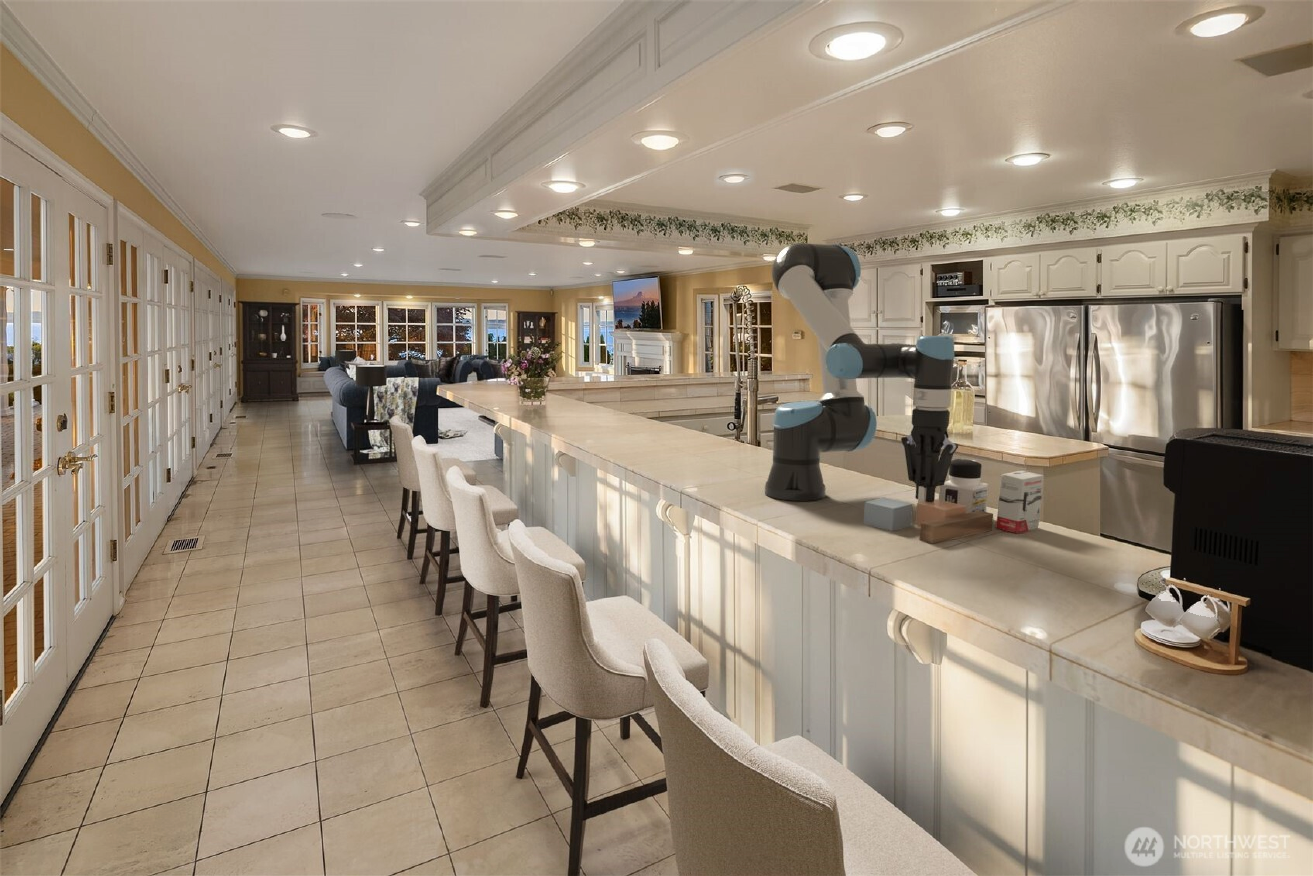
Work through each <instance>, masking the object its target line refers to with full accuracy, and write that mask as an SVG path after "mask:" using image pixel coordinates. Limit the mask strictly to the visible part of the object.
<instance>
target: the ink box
mask: <svg viewBox="0 0 1313 876" xmlns="http://www.w3.org/2000/svg"><path fill="white" fill-rule="evenodd" d="M1000 476H1001V477H1000V484H999V485H1000V486H999V495H998V496H999V498H998V505H997V506H998V507H997V515H996V516H997V518H996V526H995V528H996V529H999V530H1003V531H1007V532H1011V533H1014V534H1021V533H1024V532H1028V531H1032V530H1036V529H1038V528H1039V525H1040V524H1039V522H1040V515H1041V514H1040V513H1041V506H1042V496H1043V488H1044V479H1045V475H1043V474H1038V473H1034V472H1029V471H1027V470H1017V471H1013V472H1007V473H1002V474H1001V475H1000Z"/></svg>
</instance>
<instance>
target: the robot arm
mask: <svg viewBox="0 0 1313 876" xmlns="http://www.w3.org/2000/svg"><path fill="white" fill-rule="evenodd" d="M771 267H772V269H771V278H772V282H773V284H774V287H775V289H776V290H777V291H778V293H779V294H780V296H782V297H783V298H785V299H789V301H790V302H791V304H792V305H793V307H794V308H795V309H796V310H797V311H798V314H799V315H800V316H801V317H802V319H803V320H804V322H805V323H806V325H807V327H809V329H810V330H811V331H812V333H813V334H814V335H815V337H816V338H817V343H818V344H817V346H818V355H819V357H818V358H819V367H820V375H821V385H822V396H821V397H820V398H819V399H818V401H812V400H807V401H794V402H793V401H792V402H788V403H784V404H780V405H779V406H778V407H777V408H776V409H775V411H774V418H773V425H772V426H773V441H772V447H773V449H772V465H771V468H770V471H769V473H768V478H767V481H766V482H765V485H764V495H766V496H767V497H770V498H773V499H778V500H782V501H792V502H793V501H794V502H797V501H798V502H808V501H809V502H810V501H812V502H813V501H819V500H823V499H824V498H825V497H826V484H825V483H824V478H823V475H822V469H821V466H820V461H821V460H820V458H821V453H833V452H837V453H838V452H847V453H848V452H853V451H859V450H863V449H865V448H867V446H869V445H870V444H871V442H872V440H873V439H874V437H875V435H876V431H877V423H878V422H877V421H878V420H877V416H876V415H877V414H876V413H875V411H874V410H873V408H872V407H871V406H869V405H867V404H866V403H865V396H864V395H863V394H861V393H860V392H859V391H858V387H857V379H894V378H895V379H896V378H899V379H901V378H902V379H914V384H913V395H912V396H913V397H912V398H913V399H912V400H913V401H912V405H913V407H914V408H913V409H912V412H911V414H912V415H911V425H912V429H911V431H910V433H909V435H907V436H903V437H901V439H900V441H901V444H902V446H903V447H904V448H903V449H904V454H905V455H904V456H905V463H906V470H907V477H908V478H907V479H908V480H909V482H913V483H914V484H915V499H916V500H917V503H920V502H925V501H926V502H933V501H934V500H936V499H935V496H936V489H937V487H940V486H941V485H944V483H945V482H946V479H947V477H948V474H949V467H950V463H951V461H952V460H953V456H954V454H955V453H956V451H957V450H958V449H959V444H958V443H956V442H955V443H953V442H952V440H950V439H949V434H948V427H949V425H950V414H951V411H950V410H949V409H948V408H950V407H951V406H952V405H951V401H952V382H953V372H954V360H955V339H954V338H953V337H952V336H950V335H920V336H918V337H917V338H916V344H907V343H906V344H905V343H895V342H894V343H893V342H892V343H865V342H864V341H863V340H862V339H861V337H859V335H858V334H857V333H856V331H855V330H854V329H853V327H852V325H851V320H850V319H851V317H850V310H849V309H850V308H849V307H850V306H849V299H850V298H851V297H852V296H853V294H854V289H855V288H856V287H857V286H858V284H859V282H860V279H859V278H860V277H861V274H862V273H861V272H862V270H861V262H860V259H859V257H858V255H857V253H856V252H855V251H854V250H853V249H852V248H850V247H849V246H846V245H844V246H843V245H839V244H823V243H805V242H796V243H792V244H790V245H788V246H786V247H784V248H783V249H781V251H780V252H779V253H778V254H777V256H776V257H775V259H774V261H773V264H772V266H771Z"/></svg>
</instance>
